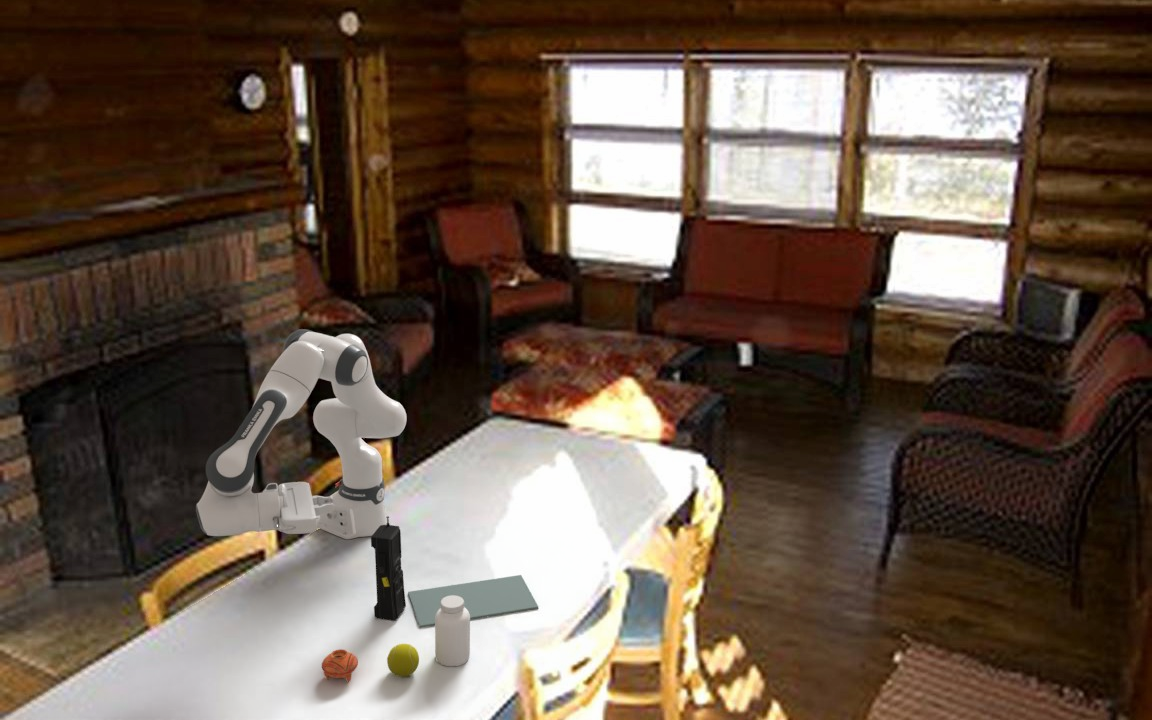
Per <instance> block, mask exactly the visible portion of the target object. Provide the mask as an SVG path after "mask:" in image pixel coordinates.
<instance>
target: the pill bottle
mask: <svg viewBox="0 0 1152 720" xmlns="http://www.w3.org/2000/svg"><path fill="white" fill-rule="evenodd" d="M434 631H435V632H434V634H435V635H434V639H435V640H434V641H435V644H434V645H435V647H434V648H435V649H434V651H435V659H436V661H437V663H439V665H442V666H445V667H458V666H462V665H464V664H465V663H467V662H468V660H469V658H470V655H471V653H470V652H471V620H470V614H469V612H468V610H467V609H466V608H465V607H464V600H463V599H462V598H461V597H459V596H455V595H451V596H446V597H444V598H443V599H442V600H441V608H440V609H439V610H438V611H437V613H436V616H435V625H434Z"/></svg>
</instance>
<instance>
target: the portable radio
mask: <svg viewBox="0 0 1152 720" xmlns="http://www.w3.org/2000/svg"><path fill="white" fill-rule="evenodd" d="M386 518H387V525H380V526H379V528H378V529H377V530H376V531H375V533H374V534H373V535H371V536H370V546H371V547H372V548H373V549H374V560H375V578H376V579H375V580H376V581H375V583H376V604H375V605H374V606H373V615H374V618H375V619H379V620H384V621H392V622H394V621H396V620H398V619H399V617H400V616H401V614H402V613H403V612H404V610H405V608H406V607H407V602H406V595H405V594H406V593H405V582H404V571H403V569H402V536H401V535H402V534H401V529H400V526H399V525H391V523H390V524H389V521H390V519H389V518H390V516H388V515H387V517H386Z"/></svg>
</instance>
